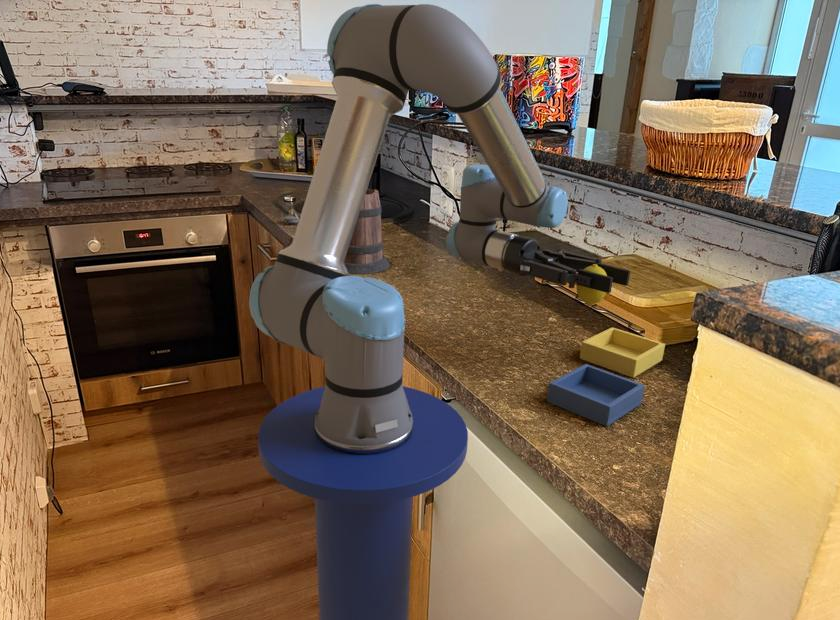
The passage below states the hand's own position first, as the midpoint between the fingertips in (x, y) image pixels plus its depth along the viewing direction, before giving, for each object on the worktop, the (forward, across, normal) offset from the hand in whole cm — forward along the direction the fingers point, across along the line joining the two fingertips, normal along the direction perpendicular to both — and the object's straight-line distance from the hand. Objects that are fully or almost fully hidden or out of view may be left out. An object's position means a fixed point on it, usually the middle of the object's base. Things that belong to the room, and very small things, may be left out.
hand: (619, 281), depth 120 cm
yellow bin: (-1, -8, -18) cm, 20 cm away
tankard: (-85, -14, -18) cm, 88 cm away
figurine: (-132, -25, -18) cm, 136 cm away
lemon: (-5, 0, -6) cm, 8 cm away
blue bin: (+5, +12, -18) cm, 22 cm away
